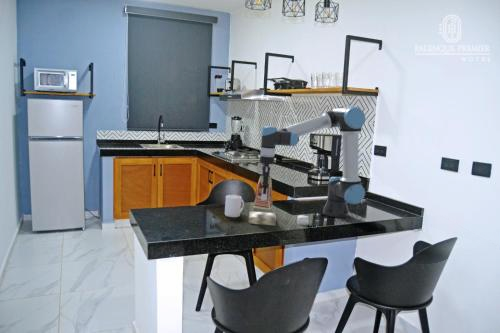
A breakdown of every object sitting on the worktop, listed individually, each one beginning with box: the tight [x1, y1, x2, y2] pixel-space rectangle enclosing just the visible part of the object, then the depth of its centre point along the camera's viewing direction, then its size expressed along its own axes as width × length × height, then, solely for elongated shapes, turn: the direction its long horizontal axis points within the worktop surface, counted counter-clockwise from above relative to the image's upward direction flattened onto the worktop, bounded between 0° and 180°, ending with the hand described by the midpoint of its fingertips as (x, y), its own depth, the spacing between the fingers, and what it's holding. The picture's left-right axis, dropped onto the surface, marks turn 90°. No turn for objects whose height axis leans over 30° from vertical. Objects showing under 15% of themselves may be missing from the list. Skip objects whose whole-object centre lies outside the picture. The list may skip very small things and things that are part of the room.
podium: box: [248, 211, 277, 226], centre depth 221 cm, size 14×14×3 cm
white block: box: [296, 214, 310, 226], centre depth 222 cm, size 6×6×4 cm
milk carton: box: [253, 173, 273, 211], centre depth 219 cm, size 9×9×20 cm
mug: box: [224, 194, 245, 218], centre depth 229 cm, size 9×12×11 cm
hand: (263, 198), depth 220 cm, fingers closed on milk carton, 9 cm apart
